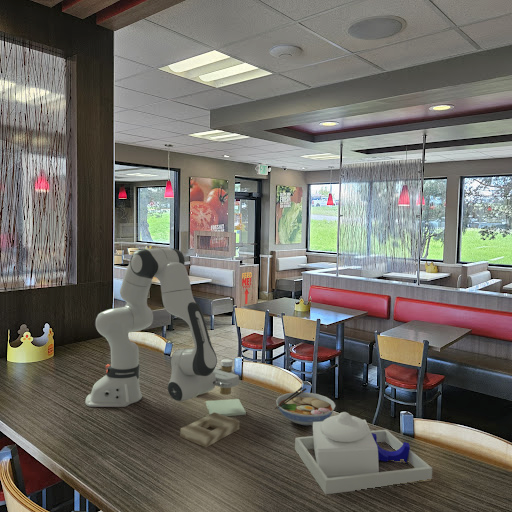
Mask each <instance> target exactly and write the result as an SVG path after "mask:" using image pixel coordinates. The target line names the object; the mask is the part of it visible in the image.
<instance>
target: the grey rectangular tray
mask: <svg viewBox="0 0 512 512" xmlns="http://www.w3.org/2000/svg"><path fill="white" fill-rule="evenodd" d="M370 431H371V433H373V434H376V437H377V439H376V441H377V442H381V443H385V442H386V443H387V444H389V445H390V446H391V447H392V448H393V449H395V450H398V449H400V448H401V447H402V445H403V443H404V442H402V441H400V439H398V438H397V437H396V436H395V435H394V434H392V433H391V432H390V431H389V430H388V429H379V430H378V429H377V430H370ZM384 441H385V442H384ZM386 443H385V444H386ZM387 444H386V445H387ZM389 445H388V446H389ZM390 446H389V447H390ZM391 447H390V448H391ZM392 448H391V449H392ZM308 449H309V450H314V441H313V435H311V436H310V435H309V436H300V437H295V440H294V450H295V451H296V453H297V454H299V455H298V456H299V457H300V459H301V460H302V462H303V463H304V465H305V467H306V468H307V470H308V471H309V472H310V474H311V476H313V478H314V480H315V481H316V483H317V484H318V485H319V487H320V489H321V490H322V491H323V493H324V494H325V495H331V494H340V493H347V492H355V490H357V491H362V490H361V489H365V490H368V489H367V488H373V489H376V488H375V487H381V486H387V485H393V484H400V483H407V482H412V481H419V480H427V479H432V480H433V467H432V466H431V465H429V464H428V463H427V462H426V461H425V460H423V459H422V458H421V457H420V456H418V455H417V454H416V453H415V452H414V451H412V449H410V450H409V454H408V458H407V461H409V462H410V463H411V464H412V465H413V466H414V467H415V468H413V467H412V468H407V469H406V468H405V469H404V468H403V469H398V470H397V469H396V470H389V471H380V472H378V473H369V474H360V475H352V476H343V477H334V478H327V476H326V475H325V474H324V472H323V471H322V469H321V468H320V467H319V465H318V464H317V462H316V459H314V457H313V456H312V455H311V453H310V452H309V450H308ZM393 449H392V450H393ZM381 488H382V487H381Z"/></svg>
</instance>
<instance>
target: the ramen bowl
mask: <svg viewBox="0 0 512 512" xmlns="http://www.w3.org/2000/svg"><path fill="white" fill-rule="evenodd" d="M306 391H307V387H304V388H303V387H302V386H301V387H299V388H298V389H297V390H296V391H295V392H290V393H285V394H282V395H280V396H278V397H277V399H276V400H275V401H276V407H274V410H277V409H278V410H279V412H280V413H281V415H282V417H283V416H284V417H285V418H286V419H287V420H288V421H290V422H292V423H295V424H298V425H301V426H313V422H322V421H324V420H325V419H326V418H329V417H331V416H332V414H333V412H334V411H335V408H336V403H335V402H334V400H332V399H331V398H329V397H328V396H324V395H321V394H319V393H312V392H306Z"/></svg>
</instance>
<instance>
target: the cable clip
mask: <svg viewBox="0 0 512 512" xmlns="http://www.w3.org/2000/svg"><path fill="white" fill-rule="evenodd" d="M372 436H373V438H374V440H375V442H376V444H377V448H378V461H382V462H386V463H387V462H388V461H389V460H394V461H400V459H404V461H405V462H406V463H408V462H407V458H408V454H409V450H411V449H410V448H411V446H410V443H409V442H405V441H403V442H402V443H403V445H402V447H401V448H400V449H398V450H396V451H394V450H392V451H390V450H385V449H384V448H382V447H381V446H380V445H379V443H377V441H376V439H377V437H376V434H373V433H372Z"/></svg>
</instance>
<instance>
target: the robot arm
mask: <svg viewBox="0 0 512 512" xmlns="http://www.w3.org/2000/svg"><path fill="white" fill-rule="evenodd" d="M185 260H186V259H185V256H184V254H183V253H182V252H181V250H179V249H176V248H170V247H169V248H165V247H155V248H147V249H146V248H144V249H143V248H142V249H137V250H136V251H134V252H133V253H132V255H131V257H130V261H129V263H128V265H127V268H126V271H125V273H124V276H123V280H122V283H121V285H120V290H119V295H120V297H121V299H122V300H123V301H124V302H125V303H126V304H125V305H124V306H123V307H122V306H121V307H115V308H109V309H105V310H104V311H101V312H100V313H99V312H98V314H97V316H96V318H95V328H96V330H97V332H98V333H99V334H100V335H101V336H102V337H104V338H105V339H106V340H107V343H108V345H109V348H110V362H111V363H110V364H108V363H107V364H106V365H105V368H104V369H105V375H104V376H103V377H101V378H100V379H98V380H97V381H96V382H95V383H94V385H93V386H92V389H91V393H89V394H88V395H87V396H86V398H85V401H84V403H85V405H86V406H87V407H90V408H91V407H102V408H103V407H109V408H111V407H112V408H120V407H121V408H125V407H127V406H129V405H131V404H134V403H137V402H139V401H140V400H141V399H142V398H143V395H142V392H141V387H140V380H139V379H140V371H141V370H140V364H139V357H140V355H139V352H140V351H139V349H140V348H139V346H138V345H137V344H136V343H135V342H134V341H131V340H130V339H129V333H135V332H139V331H142V330H145V329H147V328H149V327H150V326H151V325H152V324H153V322H154V313H153V310H152V309H151V307H149V306H148V296H149V292H150V288H151V286H152V282H153V278H155V279H158V280H159V284H160V292H161V293H160V294H161V300H162V301H161V302H162V304H163V308H164V310H165V311H167V313H169V314H171V315H172V316H175V317H177V318H180V319H182V320H183V321H184V322H186V324H187V325H188V328H189V330H190V333H191V337H192V341H193V344H194V347H191V348H189V347H188V348H178V349H176V350H175V351H173V353H172V355H171V357H170V361H169V363H170V364H169V366H170V369H171V375H170V379H169V381H168V383H167V391H168V394H169V396H170V397H171V398H172V399H173V400H175V401H177V402H185V401H188V400H191V399H193V398H197V396H199V395H204V394H206V393H209V392H211V391H213V390H214V389H215V388H216V387H222V388H230V387H231V388H234V387H236V386H238V385H239V384H240V376H239V374H235V372H236V371H235V370H232V371H230V372H229V373H228V372H224V371H221V367H219V368H216V367H217V365H218V364H217V363H218V358H217V354H216V351H215V350H214V348H213V345H212V342H211V338H210V334H209V332H208V328H207V327H208V326H207V324H206V321H205V318H204V313H203V310H202V308H201V307H200V305H199V304H198V303H197V302H196V300H195V299H194V295H193V291H192V286H191V281H190V277H189V274H188V270H187V268H186V261H185Z"/></svg>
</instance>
